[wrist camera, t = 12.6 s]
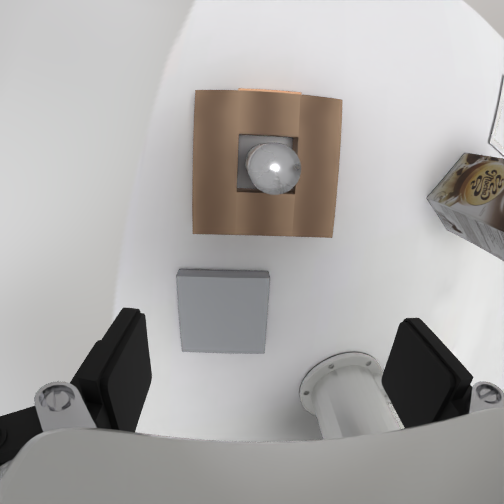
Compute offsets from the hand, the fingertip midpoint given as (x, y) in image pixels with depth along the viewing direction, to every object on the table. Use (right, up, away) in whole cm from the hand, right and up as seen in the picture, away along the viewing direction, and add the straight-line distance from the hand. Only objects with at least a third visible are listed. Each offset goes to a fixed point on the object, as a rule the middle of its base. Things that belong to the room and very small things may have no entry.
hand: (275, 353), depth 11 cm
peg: (0, +13, +21) cm, 25 cm away
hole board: (0, +13, +21) cm, 25 cm away
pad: (-4, -3, +26) cm, 27 cm away
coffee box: (+25, +11, +23) cm, 36 cm away
